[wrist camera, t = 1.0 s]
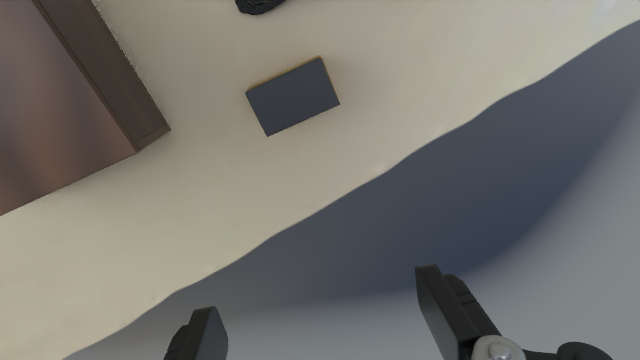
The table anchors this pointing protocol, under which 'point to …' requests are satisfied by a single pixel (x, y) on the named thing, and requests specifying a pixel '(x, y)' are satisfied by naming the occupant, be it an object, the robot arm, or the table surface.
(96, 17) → the case
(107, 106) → the case lid
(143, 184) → the table surface
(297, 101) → the duster
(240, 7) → the hairbrush
